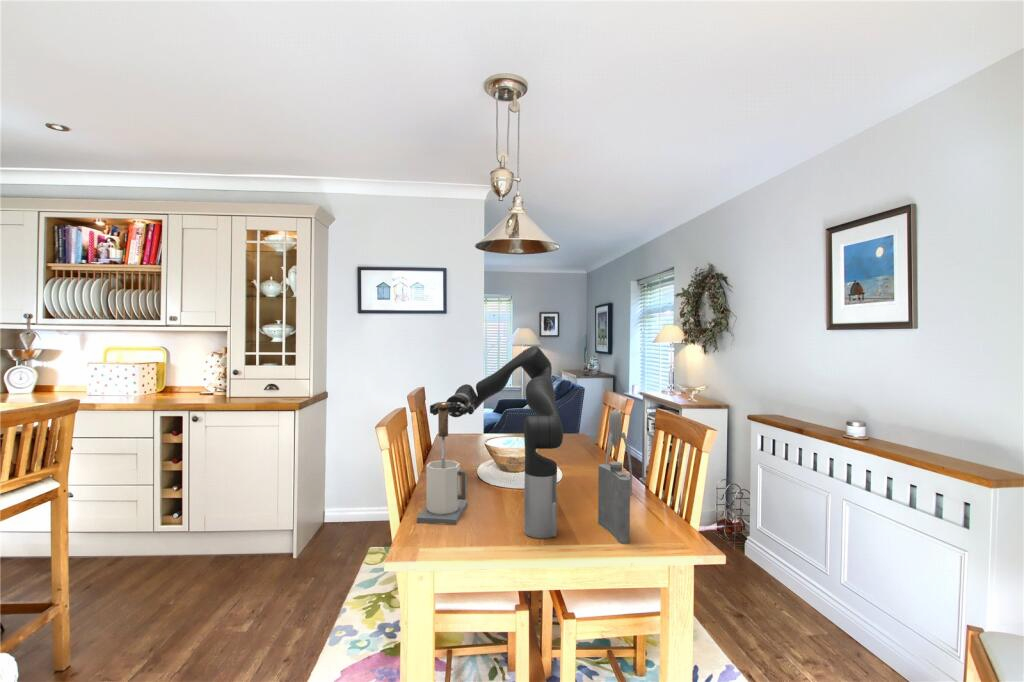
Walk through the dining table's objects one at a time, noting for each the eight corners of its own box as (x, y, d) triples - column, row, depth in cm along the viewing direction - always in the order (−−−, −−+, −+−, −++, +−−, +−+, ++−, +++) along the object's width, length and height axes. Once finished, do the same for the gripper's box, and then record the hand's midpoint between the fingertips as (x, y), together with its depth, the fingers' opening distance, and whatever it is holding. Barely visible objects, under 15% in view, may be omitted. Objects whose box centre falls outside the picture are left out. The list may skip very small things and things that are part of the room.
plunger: (458, 472, 160) (458, 401, 159) (452, 479, 152) (452, 405, 152) (434, 471, 161) (434, 400, 160) (427, 478, 153) (427, 404, 153)
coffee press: (471, 505, 164) (471, 458, 164) (460, 524, 148) (460, 472, 148) (431, 503, 166) (431, 457, 165) (416, 522, 150) (416, 471, 149)
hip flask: (596, 522, 151) (596, 456, 150) (608, 520, 152) (609, 455, 152) (620, 544, 136) (621, 471, 135) (634, 542, 137) (635, 470, 136)
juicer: (632, 501, 169) (633, 412, 168) (605, 499, 171) (606, 411, 170) (631, 491, 179) (632, 407, 178) (605, 489, 181) (606, 406, 180)
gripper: (438, 393, 178) (425, 400, 162) (478, 394, 176) (469, 401, 160) (438, 414, 178) (425, 423, 162) (478, 415, 176) (469, 424, 160)
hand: (447, 412), depth 161 cm, fingers open, 8 cm apart
